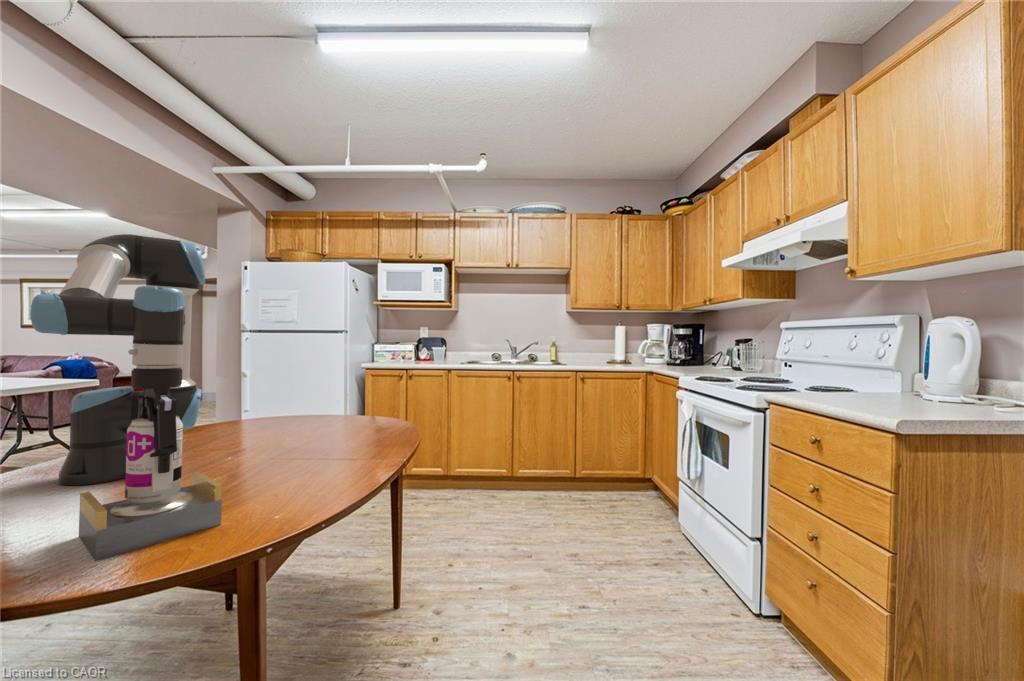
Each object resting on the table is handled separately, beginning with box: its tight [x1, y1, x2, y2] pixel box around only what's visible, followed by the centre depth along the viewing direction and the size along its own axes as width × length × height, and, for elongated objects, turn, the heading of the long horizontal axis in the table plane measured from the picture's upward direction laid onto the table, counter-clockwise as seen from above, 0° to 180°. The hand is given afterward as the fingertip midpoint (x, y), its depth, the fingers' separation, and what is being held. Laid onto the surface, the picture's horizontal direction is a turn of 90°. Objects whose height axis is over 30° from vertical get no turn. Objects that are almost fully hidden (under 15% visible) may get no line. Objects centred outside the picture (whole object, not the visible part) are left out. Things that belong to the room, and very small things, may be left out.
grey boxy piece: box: [78, 470, 223, 562], centre depth 80 cm, size 14×18×8 cm
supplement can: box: [124, 416, 184, 503], centre depth 80 cm, size 8×8×15 cm
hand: (154, 484), depth 80 cm, fingers closed on supplement can, 8 cm apart
